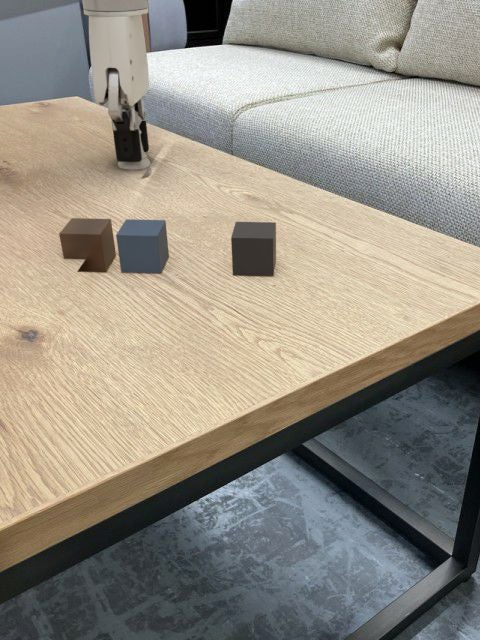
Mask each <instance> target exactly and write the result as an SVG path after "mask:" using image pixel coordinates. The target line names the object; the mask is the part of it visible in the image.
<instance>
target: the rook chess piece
mask: <svg viewBox="0 0 480 640" xmlns="http://www.w3.org/2000/svg"><path fill="white" fill-rule="evenodd" d="M126 113H127V114H128V110H126ZM128 117H129V115H128ZM141 121H143V120H142V119H141V118H140V117H139V115H138V112H136V111H135V122H136V129H139V125H140V123H141ZM141 133H142V132H141V130H140V129H139V136H140V134H141ZM140 145H141V154H142V160H141V161H140V162H119V161H117V163H118V164H117V167H118V168H120V169H123V170H131V171H132V170H141V169H145V168H147V169H146V170H145V172H144V174H143V175H142V176H141V179H145V178H148V177H149V176H150V175H151V174H152V172H153V170H152V167H150V166H151V161H150V159H149V158H148V156H147V154H146V152H144V151H143V147H142V143H141V137H140Z"/></svg>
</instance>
